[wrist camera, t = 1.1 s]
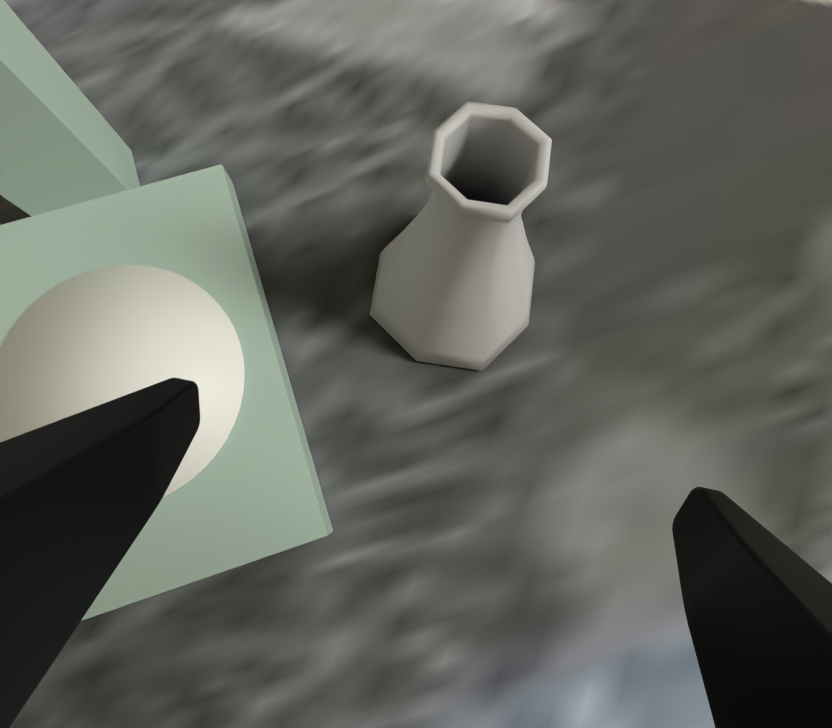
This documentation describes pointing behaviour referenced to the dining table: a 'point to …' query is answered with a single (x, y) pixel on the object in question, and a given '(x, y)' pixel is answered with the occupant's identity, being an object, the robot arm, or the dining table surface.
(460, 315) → the flask
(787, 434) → the dining table surface
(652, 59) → the dining table surface
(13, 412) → the bench press
